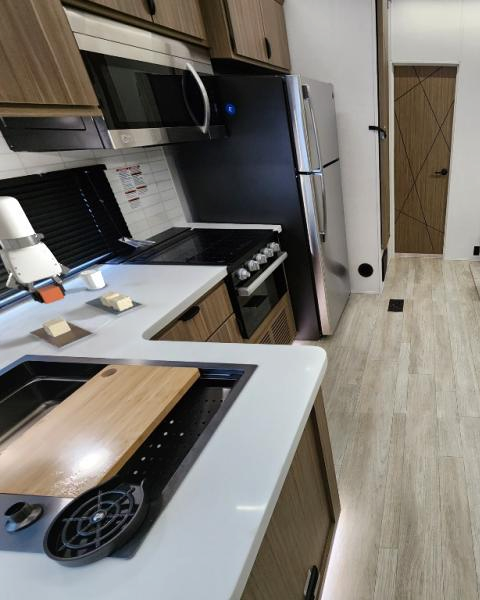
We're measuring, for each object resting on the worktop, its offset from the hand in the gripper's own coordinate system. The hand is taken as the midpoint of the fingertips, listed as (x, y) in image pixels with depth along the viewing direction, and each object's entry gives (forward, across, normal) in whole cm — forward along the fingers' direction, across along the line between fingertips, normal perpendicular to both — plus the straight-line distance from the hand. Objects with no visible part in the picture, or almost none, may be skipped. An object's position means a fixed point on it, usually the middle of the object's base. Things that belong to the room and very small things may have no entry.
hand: (51, 298), depth 103 cm
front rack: (+14, +1, -4) cm, 15 cm away
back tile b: (+13, -18, -11) cm, 25 cm away
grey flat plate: (+14, -18, -11) cm, 25 cm away
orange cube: (+1, 0, 0) cm, 1 cm away
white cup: (+14, -24, -36) cm, 46 cm away
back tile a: (+13, -18, -4) cm, 23 cm away
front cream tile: (+14, +1, -5) cm, 15 cm away
